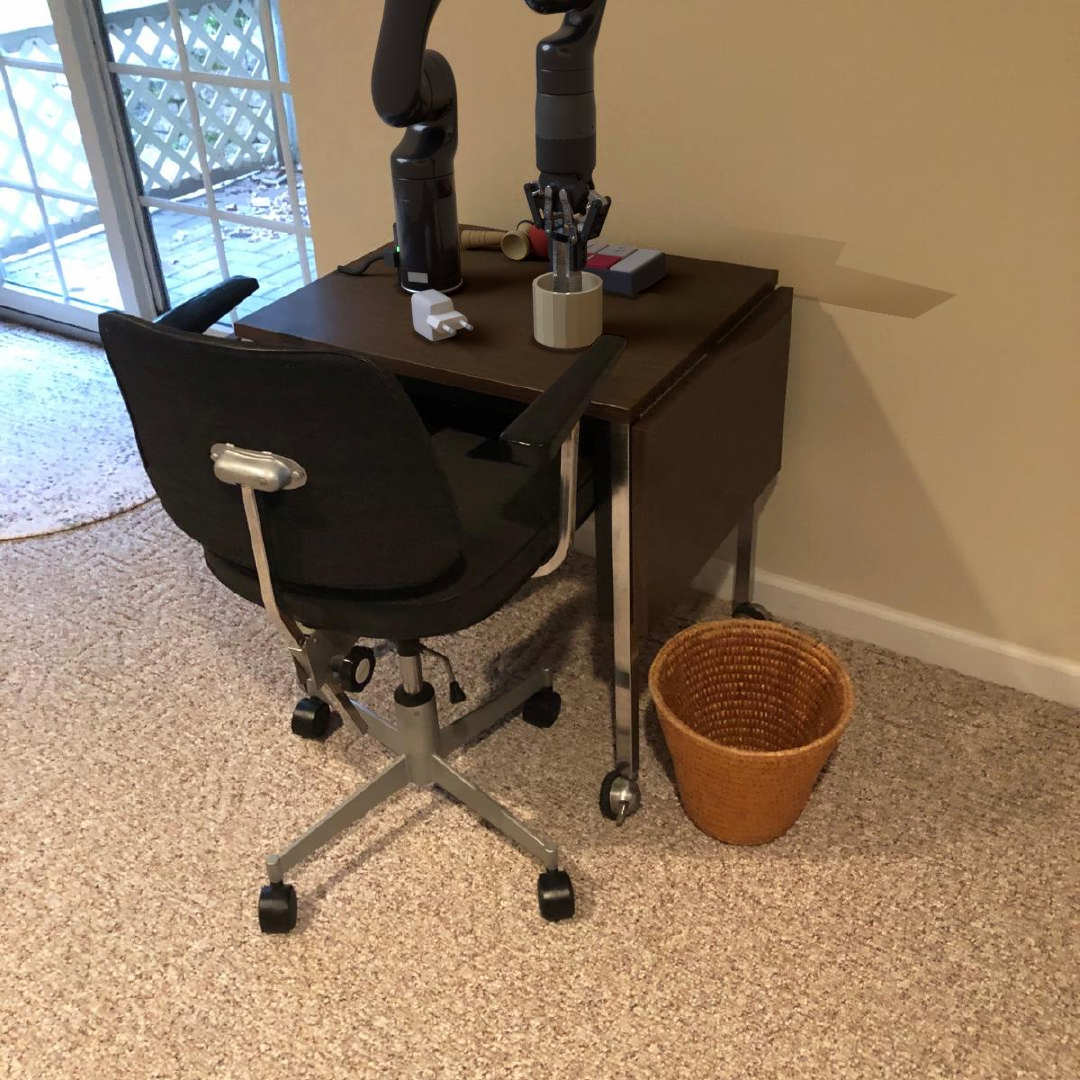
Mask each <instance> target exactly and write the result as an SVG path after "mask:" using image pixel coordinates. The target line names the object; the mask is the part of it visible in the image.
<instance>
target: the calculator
mask: <svg viewBox="0 0 1080 1080" xmlns="http://www.w3.org/2000/svg"><path fill="white" fill-rule="evenodd" d="M546 266H547V267H546V268H547V269H546V270H547V273H550V272H553V265H551V264H550V261H549V262H547V264H546ZM582 271H583V272H588V273H592V274H595V275H597V276H599V277H600V278H601V279H602V280H603V290H605V291H609V292H614V293H619V294H625V295H631V296H634V295H636V294H638V293H640V291H642V290H643V291H645V290H646V289H648V288H649V287H651V286H652V285H654V284H655V283H657V282H659V281H660V280H662V279H663V278H664V277H666V276H667V256H666V253H665V252H663V251H662V250H656V249H646V248H640V249H639V248H638V247H637V246H629V245H622V244H620V245H619V244H610V245H609V244H608V243H602V242H592V241H588V242H587V264H586V266H585V268H584V269H583V270H582Z"/></svg>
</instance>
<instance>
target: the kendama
mask: <svg viewBox="0 0 1080 1080" xmlns="http://www.w3.org/2000/svg"><path fill="white" fill-rule="evenodd" d="M460 242H461V246H462V247H463V248H464V249H473V248H483V247H494V246H501V250H502V252H503V253H504V254H505V256H506V257H508V258H509V259H510V260H514V261H522V260H524V259H525V258H526V257H528V255H529V254H530V252H531V251H532V253H533V254H535V255H536V256H538V257H539V258H543V259H549V257H548V237H547V236H546V235H545V231H543V230H542V229H539V230H538V229H537V228H536V227H535V224H534V220H533V217H524V218H522V219H521V220H520V221H519V222H518V223H517V225H516V230H515V229H512V230H509V231H508V232H504V231H493V230H489V231H488V230H469V229H464V230H462V232H461V234H460Z"/></svg>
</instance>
